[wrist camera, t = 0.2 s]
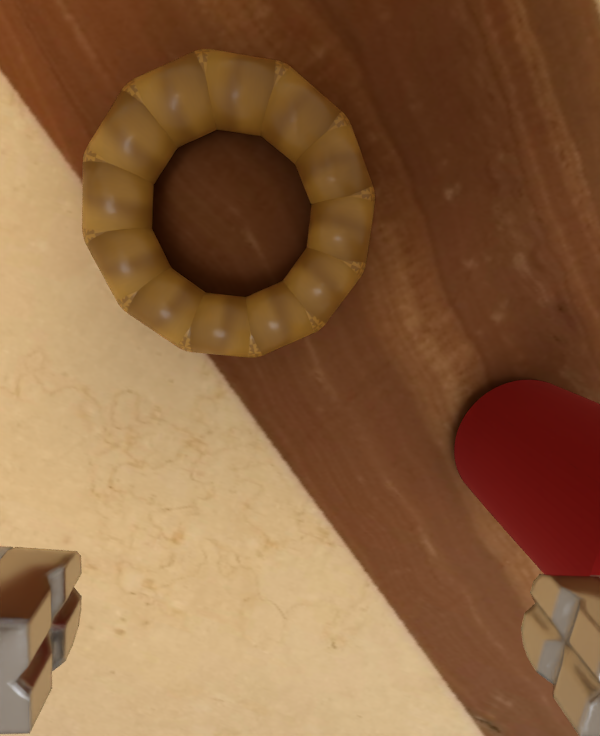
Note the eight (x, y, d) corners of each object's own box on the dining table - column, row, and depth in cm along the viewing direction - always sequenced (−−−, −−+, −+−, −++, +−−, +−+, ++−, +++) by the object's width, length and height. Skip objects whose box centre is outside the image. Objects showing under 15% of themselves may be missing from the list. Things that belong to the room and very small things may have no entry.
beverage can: (502, 518, 24) (722, 757, 13) (420, 442, 23) (583, 634, 11) (597, 431, 23) (925, 601, 12) (518, 346, 22) (803, 446, 10)
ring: (98, 47, 18) (71, 12, 15) (383, 94, 19) (401, 68, 16) (95, 335, 20) (71, 346, 18) (345, 360, 21) (355, 373, 19)
